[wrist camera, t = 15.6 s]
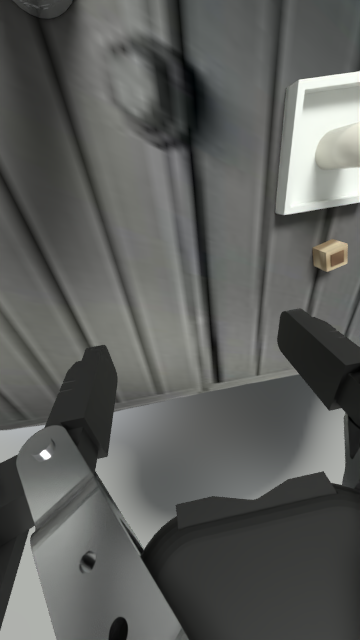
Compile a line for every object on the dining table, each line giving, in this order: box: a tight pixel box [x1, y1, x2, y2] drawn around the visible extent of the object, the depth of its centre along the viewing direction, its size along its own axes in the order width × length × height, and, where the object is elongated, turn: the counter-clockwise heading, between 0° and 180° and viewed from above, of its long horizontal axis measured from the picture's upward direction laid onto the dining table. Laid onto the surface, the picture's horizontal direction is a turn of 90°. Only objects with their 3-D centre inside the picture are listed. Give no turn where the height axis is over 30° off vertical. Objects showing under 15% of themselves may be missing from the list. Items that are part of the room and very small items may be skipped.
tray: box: [275, 71, 360, 215], centre depth 34 cm, size 16×16×3 cm
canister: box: [315, 122, 360, 170], centre depth 30 cm, size 5×5×11 cm
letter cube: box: [313, 239, 348, 272], centre depth 43 cm, size 4×4×4 cm
